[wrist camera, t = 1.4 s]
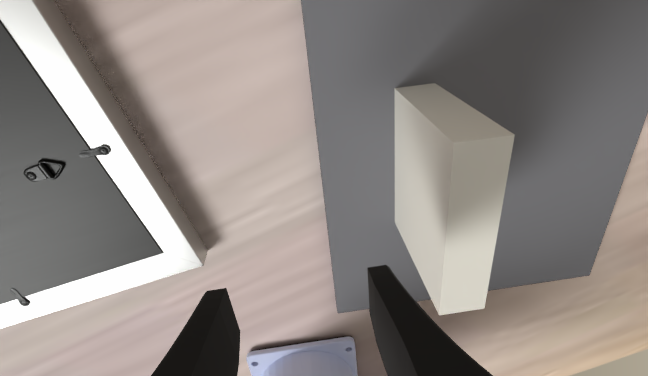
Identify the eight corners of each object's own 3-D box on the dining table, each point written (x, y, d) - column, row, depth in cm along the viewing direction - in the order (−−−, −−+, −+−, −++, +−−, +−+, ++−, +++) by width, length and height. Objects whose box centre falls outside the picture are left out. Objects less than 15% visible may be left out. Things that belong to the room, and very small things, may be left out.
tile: (427, 217, 22) (484, 308, 16) (394, 222, 22) (439, 315, 15) (434, 82, 18) (514, 134, 12) (394, 88, 18) (453, 142, 12)
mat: (583, 269, 26) (589, 275, 26) (336, 306, 25) (337, 313, 25) (718, -124, 15) (733, -128, 15) (292, -78, 14) (292, -81, 14)
